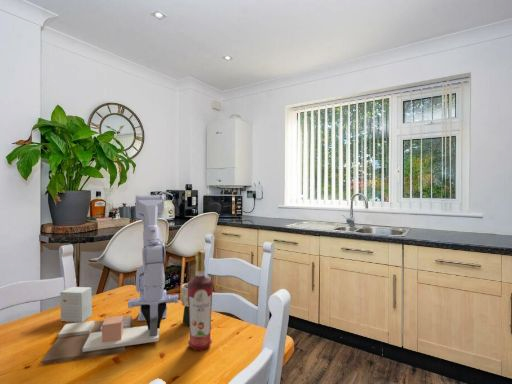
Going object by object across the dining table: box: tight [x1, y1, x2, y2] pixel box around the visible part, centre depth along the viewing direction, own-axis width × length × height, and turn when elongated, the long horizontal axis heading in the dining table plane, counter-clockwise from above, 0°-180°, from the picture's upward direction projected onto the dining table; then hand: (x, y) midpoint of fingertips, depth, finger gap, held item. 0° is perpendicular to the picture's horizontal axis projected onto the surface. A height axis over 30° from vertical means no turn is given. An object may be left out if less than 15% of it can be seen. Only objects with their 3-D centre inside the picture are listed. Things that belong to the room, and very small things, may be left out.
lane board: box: [41, 315, 133, 365], centre depth 90 cm, size 20×21×2 cm
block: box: [102, 315, 124, 342], centre depth 87 cm, size 5×5×5 cm
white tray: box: [83, 314, 160, 352], centre depth 88 cm, size 20×9×5 cm, turn 107°
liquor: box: [187, 250, 214, 351], centre depth 86 cm, size 7×7×28 cm
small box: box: [59, 286, 93, 323], centre depth 104 cm, size 8×6×10 cm
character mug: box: [180, 282, 189, 325], centre depth 101 cm, size 11×7×13 cm, turn 164°
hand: (153, 327), depth 91 cm, fingers closed on white tray, 2 cm apart
